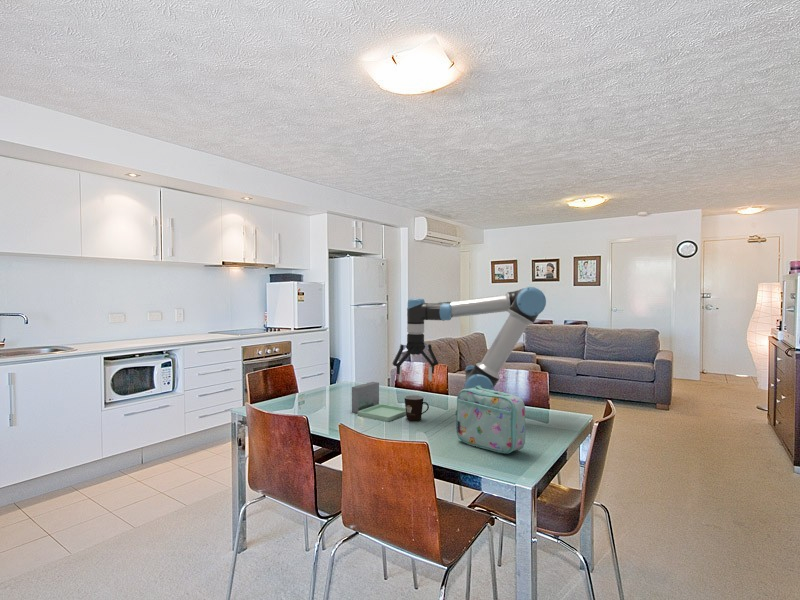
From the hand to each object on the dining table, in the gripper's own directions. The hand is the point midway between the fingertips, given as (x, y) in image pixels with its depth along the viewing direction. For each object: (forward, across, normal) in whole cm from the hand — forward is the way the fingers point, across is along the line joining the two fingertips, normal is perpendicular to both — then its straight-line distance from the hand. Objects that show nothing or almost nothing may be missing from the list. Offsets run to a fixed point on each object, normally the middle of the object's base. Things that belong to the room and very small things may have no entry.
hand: (415, 381), depth 196 cm
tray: (+17, +12, -12) cm, 24 cm away
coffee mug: (+18, 0, 0) cm, 18 cm away
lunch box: (+17, -19, +38) cm, 46 cm away
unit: (+18, +20, -22) cm, 35 cm away
